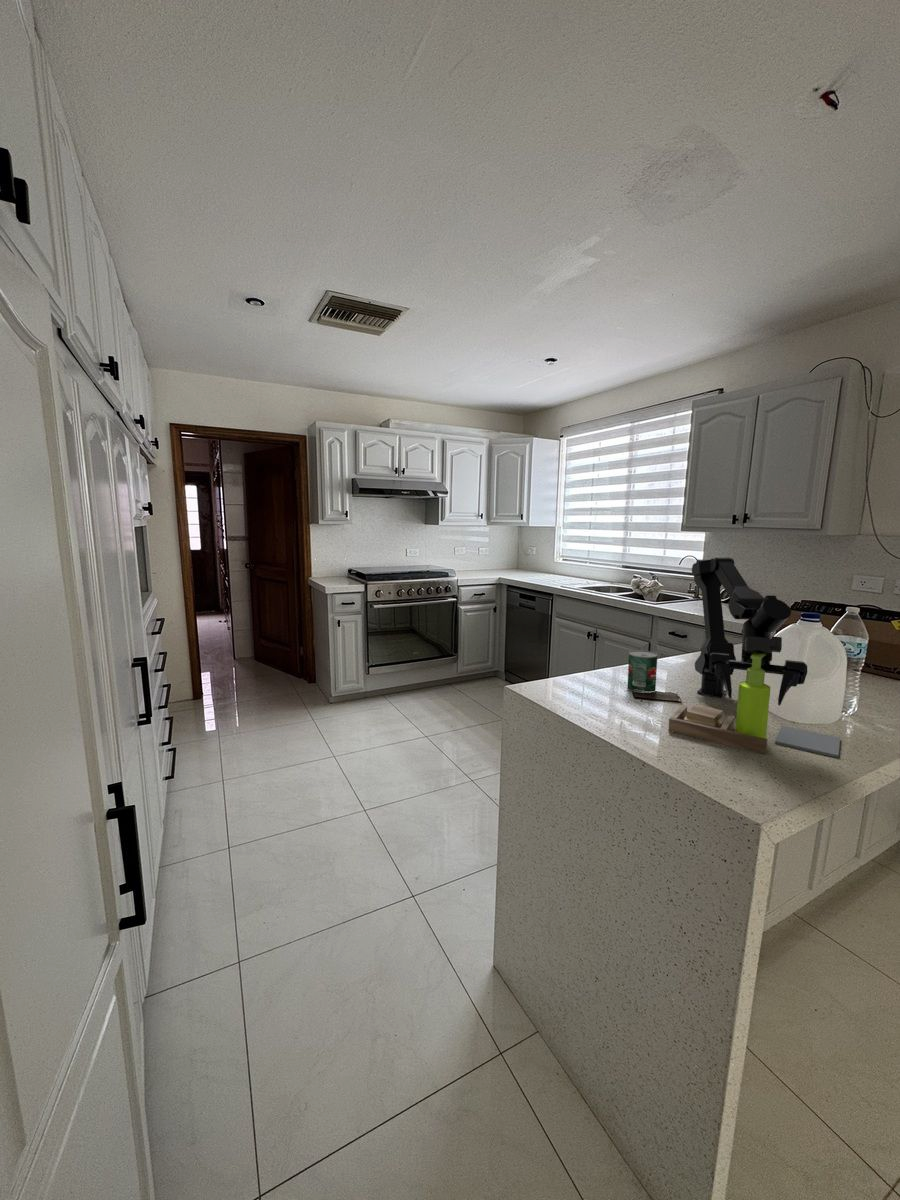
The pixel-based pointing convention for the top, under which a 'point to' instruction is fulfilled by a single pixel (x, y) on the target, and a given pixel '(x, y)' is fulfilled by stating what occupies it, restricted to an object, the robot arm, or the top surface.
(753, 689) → the soap dispenser
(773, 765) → the top surface
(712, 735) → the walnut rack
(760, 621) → the robot arm
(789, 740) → the slate mat
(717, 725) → the offcut stack
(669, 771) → the top surface
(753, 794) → the top surface
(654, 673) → the canned tomato
